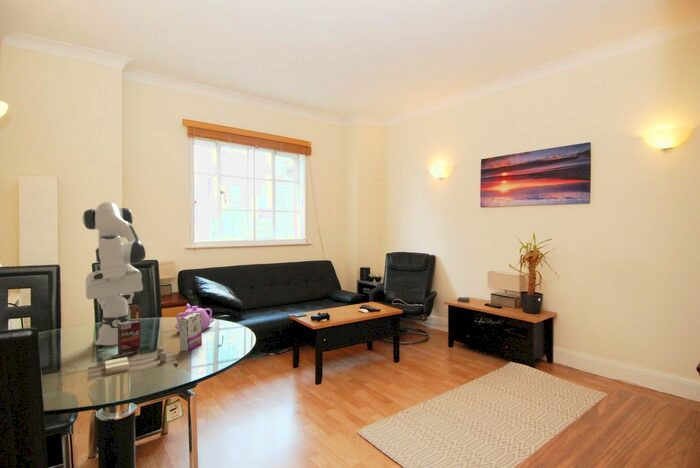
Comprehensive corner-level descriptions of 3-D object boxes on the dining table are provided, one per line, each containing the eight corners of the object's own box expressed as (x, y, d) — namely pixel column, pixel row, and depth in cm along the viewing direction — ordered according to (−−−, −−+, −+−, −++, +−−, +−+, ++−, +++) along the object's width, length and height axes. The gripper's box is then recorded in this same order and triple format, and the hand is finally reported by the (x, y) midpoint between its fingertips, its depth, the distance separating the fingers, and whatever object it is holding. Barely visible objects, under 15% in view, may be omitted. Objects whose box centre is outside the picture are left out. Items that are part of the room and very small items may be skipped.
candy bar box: (193, 343, 188) (192, 312, 188) (202, 344, 187) (201, 312, 187) (179, 351, 177) (178, 318, 177) (188, 351, 176) (187, 318, 176)
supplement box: (120, 359, 168) (119, 325, 168) (117, 356, 171) (116, 323, 171) (141, 354, 174) (140, 321, 174) (138, 351, 178) (137, 319, 177)
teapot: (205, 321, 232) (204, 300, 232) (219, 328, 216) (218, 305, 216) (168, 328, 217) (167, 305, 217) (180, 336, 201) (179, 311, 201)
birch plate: (105, 366, 155) (105, 361, 155) (127, 362, 159) (127, 356, 159) (106, 374, 147) (105, 368, 147) (129, 369, 151) (128, 363, 151)
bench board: (88, 370, 155) (87, 358, 154) (170, 354, 173) (170, 342, 173) (87, 385, 140) (87, 371, 140) (177, 365, 158) (177, 353, 158)
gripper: (139, 269, 162) (142, 300, 162) (83, 276, 148) (86, 310, 148) (143, 269, 157) (146, 301, 157) (85, 277, 143) (89, 311, 143)
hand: (116, 305), depth 152 cm, fingers open, 8 cm apart
